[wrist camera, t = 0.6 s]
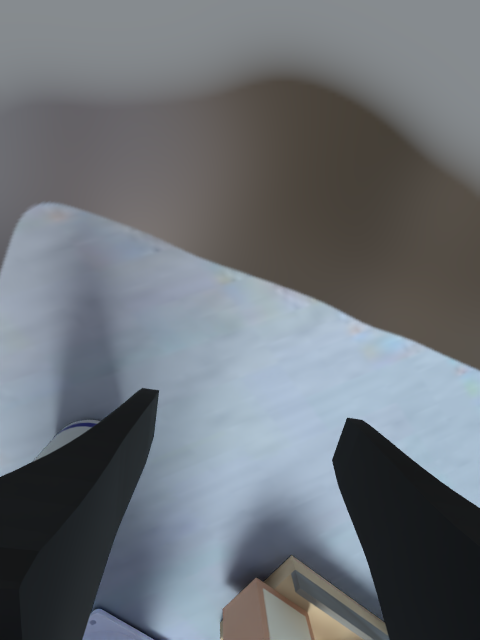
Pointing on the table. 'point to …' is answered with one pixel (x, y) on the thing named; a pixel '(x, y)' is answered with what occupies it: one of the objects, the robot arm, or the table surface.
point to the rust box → (264, 616)
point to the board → (324, 605)
